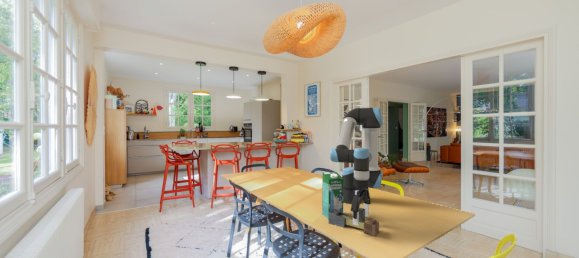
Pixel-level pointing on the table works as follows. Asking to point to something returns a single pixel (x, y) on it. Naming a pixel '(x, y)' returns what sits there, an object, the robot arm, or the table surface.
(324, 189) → the milk carton
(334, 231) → the table surface
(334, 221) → the sleeve
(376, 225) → the socket
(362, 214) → the slip tube
